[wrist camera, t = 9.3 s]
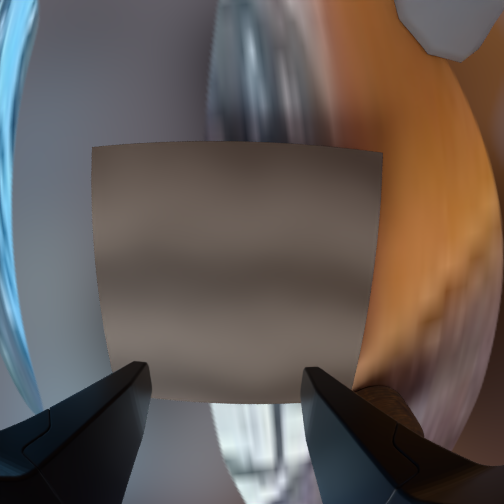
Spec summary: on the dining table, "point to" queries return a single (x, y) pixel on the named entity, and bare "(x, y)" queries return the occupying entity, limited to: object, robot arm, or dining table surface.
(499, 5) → the flask
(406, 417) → the utensil holder
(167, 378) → the walnut plinth
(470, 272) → the dining table surface
